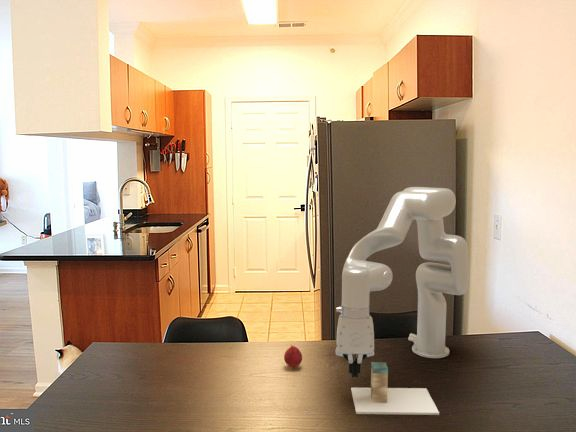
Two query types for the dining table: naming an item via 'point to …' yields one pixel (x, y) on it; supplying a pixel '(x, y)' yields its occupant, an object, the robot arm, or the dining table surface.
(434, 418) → the dining table surface
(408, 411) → the mat
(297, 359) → the onion
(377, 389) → the block
